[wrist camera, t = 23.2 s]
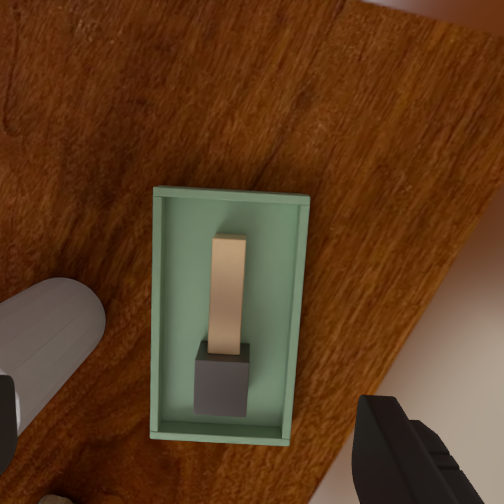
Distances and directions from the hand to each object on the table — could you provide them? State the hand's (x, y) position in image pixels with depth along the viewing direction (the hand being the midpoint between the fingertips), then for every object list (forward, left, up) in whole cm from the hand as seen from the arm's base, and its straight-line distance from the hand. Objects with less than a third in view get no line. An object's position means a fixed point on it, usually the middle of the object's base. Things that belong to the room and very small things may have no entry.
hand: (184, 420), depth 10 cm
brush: (+5, 0, -21) cm, 21 cm away
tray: (+5, 0, -21) cm, 22 cm away
